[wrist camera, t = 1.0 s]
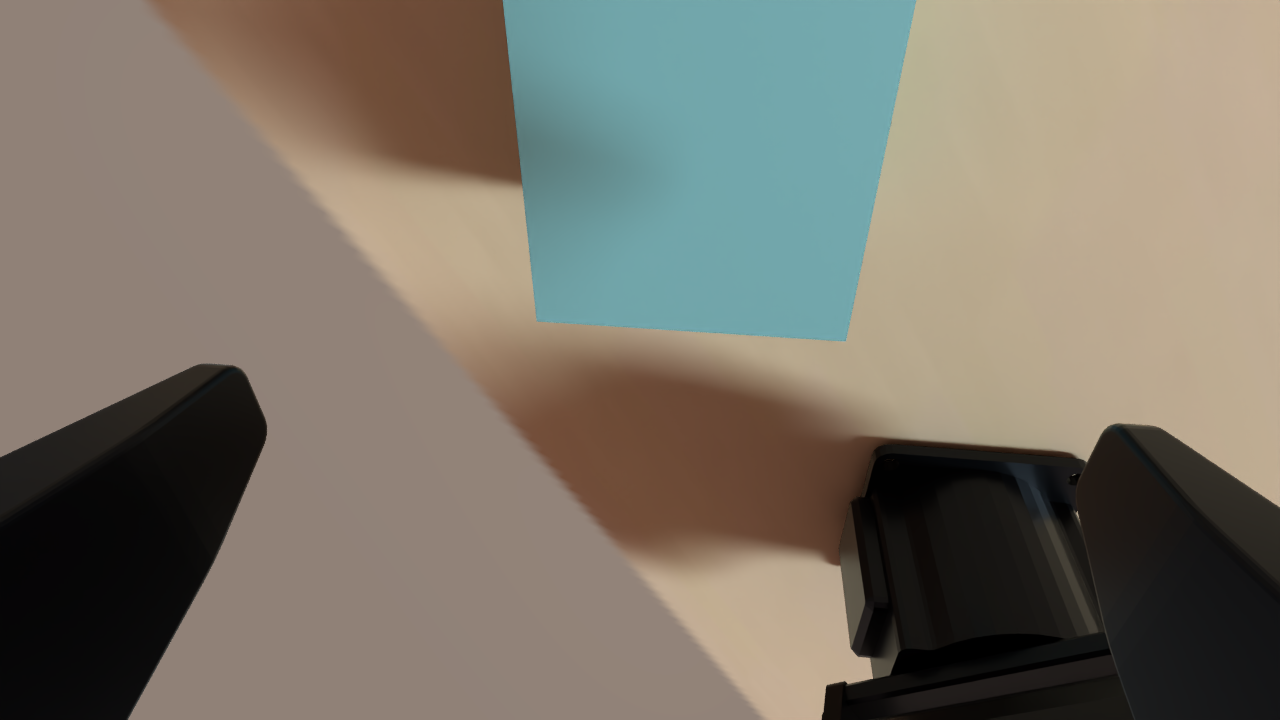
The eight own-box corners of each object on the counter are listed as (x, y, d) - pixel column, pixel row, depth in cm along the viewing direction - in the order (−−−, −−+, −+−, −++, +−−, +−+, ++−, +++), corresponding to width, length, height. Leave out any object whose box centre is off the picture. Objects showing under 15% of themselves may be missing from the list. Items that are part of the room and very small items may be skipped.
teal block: (863, -66, 15) (916, -4, 10) (821, 204, 19) (846, 341, 14) (576, -70, 16) (501, -13, 11) (588, 193, 19) (536, 321, 15)
